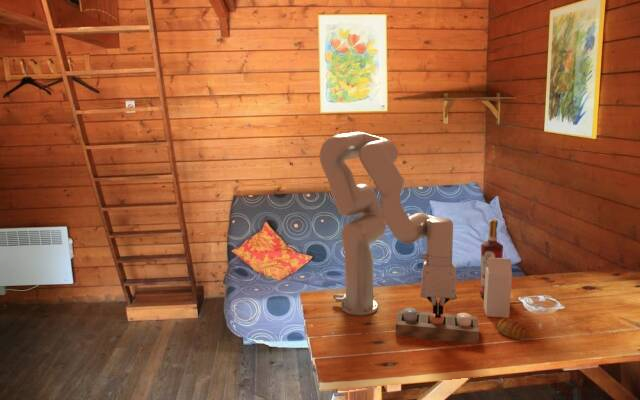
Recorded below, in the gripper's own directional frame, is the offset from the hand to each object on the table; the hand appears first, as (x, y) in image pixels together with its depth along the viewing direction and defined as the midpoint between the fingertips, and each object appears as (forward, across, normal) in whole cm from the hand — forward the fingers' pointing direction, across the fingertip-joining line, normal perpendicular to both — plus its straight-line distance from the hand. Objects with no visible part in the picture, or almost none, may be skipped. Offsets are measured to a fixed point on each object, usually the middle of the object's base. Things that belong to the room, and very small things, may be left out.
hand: (437, 315), depth 146 cm
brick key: (+4, 0, 0) cm, 4 cm away
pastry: (+6, +22, +4) cm, 23 cm away
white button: (+3, +8, 0) cm, 8 cm away
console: (+6, 0, 0) cm, 6 cm away
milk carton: (+6, +19, +17) cm, 26 cm away
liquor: (+6, +18, +30) cm, 35 cm away
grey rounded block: (+3, -8, 0) cm, 9 cm away
